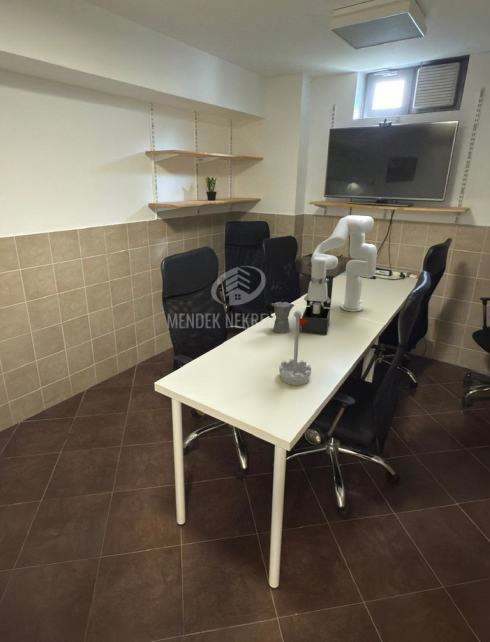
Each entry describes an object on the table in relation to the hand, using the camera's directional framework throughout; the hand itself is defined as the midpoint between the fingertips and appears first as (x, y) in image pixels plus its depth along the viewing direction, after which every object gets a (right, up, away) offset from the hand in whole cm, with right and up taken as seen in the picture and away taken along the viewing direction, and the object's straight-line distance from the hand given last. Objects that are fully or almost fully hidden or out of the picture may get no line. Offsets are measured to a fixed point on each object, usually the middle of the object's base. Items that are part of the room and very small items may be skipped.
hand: (316, 312), depth 195 cm
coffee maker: (+1, -9, +6) cm, 11 cm away
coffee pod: (0, 0, 0) cm, 0 cm away
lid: (+4, +12, +9) cm, 15 cm away
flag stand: (-19, -26, -45) cm, 56 cm away
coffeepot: (-20, -10, +3) cm, 22 cm away
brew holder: (0, -10, +3) cm, 10 cm away
